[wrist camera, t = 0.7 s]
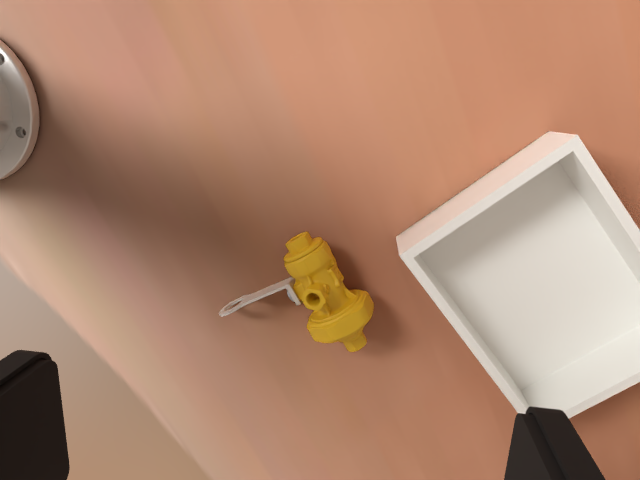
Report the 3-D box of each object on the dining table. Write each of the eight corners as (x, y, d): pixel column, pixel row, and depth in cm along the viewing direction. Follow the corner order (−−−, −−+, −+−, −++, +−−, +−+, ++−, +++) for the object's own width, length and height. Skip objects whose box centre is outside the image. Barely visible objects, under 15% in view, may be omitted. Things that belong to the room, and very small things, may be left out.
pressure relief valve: (333, 213, 37) (390, 318, 39) (217, 268, 41) (274, 359, 43) (315, 237, 32) (381, 356, 34) (185, 296, 36) (251, 398, 38)
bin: (515, 396, 40) (535, 435, 35) (395, 236, 37) (399, 255, 32) (668, 312, 36) (713, 343, 32) (548, 131, 34) (577, 134, 29)
